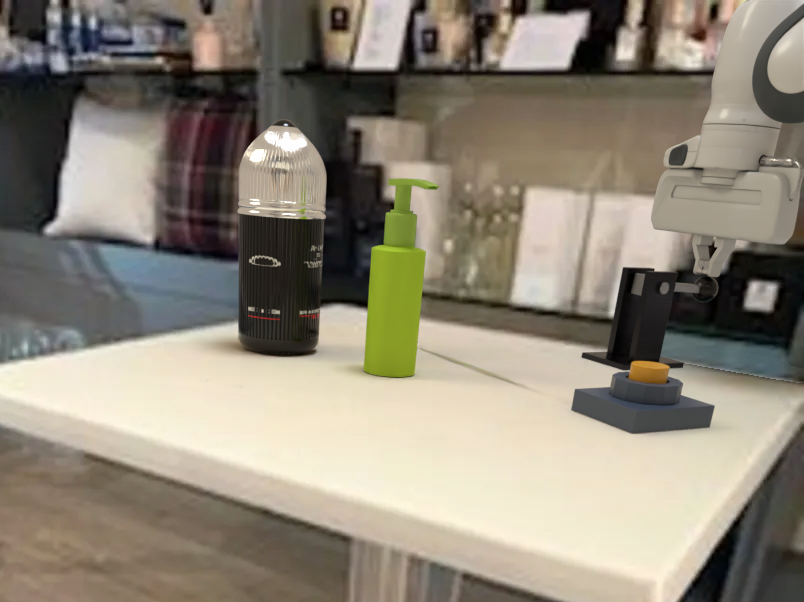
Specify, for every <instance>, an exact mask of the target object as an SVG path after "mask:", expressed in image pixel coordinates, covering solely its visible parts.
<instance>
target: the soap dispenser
mask: <svg viewBox="0 0 804 602" xmlns="http://www.w3.org/2000/svg"><path fill="white" fill-rule="evenodd" d="M387 182H388V184H387V186H395V191H394V204H393V209H390V210H389V211H388V212H387V211H386V212H385V220H384V234H383V244H379V245H375V246H372V247H371V253H370V268H369V282H368V298H367V310H366V312H367V313H366V314H367V315H366V326H365V327H366V329H365V341H364V342H365V343H364V357H363V358H364V360H363V372H365V373H367V374H369V375H374V376H379V377H388V378H407V377H412V376H414V375H415V374H416V364H417V353H418V352H417V351H418V342H419V332H420V320H421V311H422V310H421V309H422V299H423V289H424V288H423V287H424V279H425V278H424V277H425V266H426V256H427V255H426V254H427V251H426V250H424V249H423V248H420V247H416V236H417V224H418V214H416V213H414V210H411V202H412V192H413V191H412V190H413V187H417V188H420V189H423V190H430V191H431V190H432V191H437V190H438V189H439V187H440V185H439V184H437V183H434V182H432V181H430V180H427V179H422V178H407V177H406V178H405V177H404V178H403V177H401V178H400V177H399V178H389V179H388V181H387Z"/></svg>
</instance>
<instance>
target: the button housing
mask: <svg viewBox="0 0 804 602" xmlns="http://www.w3.org/2000/svg"><path fill="white" fill-rule="evenodd" d="M629 372H630V371H617V372H615V373H612V375H611V382H610V386H608V387H607V386H603V387H602V386H601V387H586V388H585V387H583V388H574V392H573V397H572V403H571V409H570V410H571V411H573V412H576V413H578V414H581V415H583V416H585V417H588V418H591V419H593V420H596V421H598V422H601V423H603V424H607V425H608V426H611V427H614V428H616V429H619V430H622V431H623V432H627V433H629V434H633V435H635V434H647V433H658V432H670V431H672V432H673V431H681V430H694V429H695V430H696V429H706V428H711V424H712V419H713V416H714V413H715V412H714V411H715V408H716V405H715V404H711V403H708V402H704V401H701V400H698V399H695V398H692V397H689V396H685V395H683V394H682V391H683V386H684V382H682V381H681V380H680V379H678V378H675V377H672V376H669V375H668V378H667V382H666V383H665V384H655V383H645V382H639V381H635V380H631V379H628V377H629Z"/></svg>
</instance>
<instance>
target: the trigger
mask: <svg viewBox="0 0 804 602" xmlns="http://www.w3.org/2000/svg"><path fill="white" fill-rule="evenodd" d="M644 278H645V274H639V273H635V276H634V280H633V285H632V289H631V294H636V295H640V296H641V293H642V288H643V283H644ZM718 292H719V284H718V281H717V280H716V279H715V277H709V276H704V275H702V276H701V277H699V278H697V279H696V280H695V281H694V282H693V283H687V282H686V283H684V282H676V285H675V290H674V293H687V294H688V293H689V294H691V295H692V298H693V299H694V300H695V301H696V302H699V303H709V302H710V301H712V300H714V298H715V297H716V296H717V295H718Z"/></svg>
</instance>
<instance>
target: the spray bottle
mask: <svg viewBox="0 0 804 602" xmlns="http://www.w3.org/2000/svg"><path fill="white" fill-rule="evenodd" d="M326 196H327V170H326V166H325V163H324V161H323V159H322V156H321V155H320V153H319V151H318V149H317V148H316V147H315V145H314V144H313V143H312V142H311V141H310V140H309V138H308V137H307V136H306V135H305V134H304V133H303V132H302V131H301V130H300V129H299V128H298V127H297V126H296V124H295V123H294V122H292V121H291V120H289V119H285V118H281V119H278V120H275V121H274V122H273V123H272V124H271V125H270V126H269V127H268V128H267V129H266V130H264V131H263V132H261V133H260V134H259V135H258V136H257V137H256V138H255V139H254V140H253V141H252V142H251V143H250V145H249V146H248V147H247V148H246V150H245V151H244V153H243V155H242V158H241V160H240V164H239V167H238V198H237V199H238V200H237V205H238V208H237V210H236V211H237V214H238V287H237V288H238V291H237V293H238V294H237V295H238V297H237V304H238V306H237V307H238V309H237V324H238V325H237V337H238V338H237V339H238V341H239V343H240V344H241V345H242V346H243V347H244V348H245V349H248V350H250V351H252V352H256V353H261V354H267V355H268V354H269V355H284V356H285V355H291V356H292V355H303V354H307V353H310V352H312V351H314V350H315V349H316V348H317V347H318V344H319V341H320V325H321V324H320V322H321V321H320V320H321V300H322V279H323V278H322V277H323V256H324V255H323V254H324V233H325V219H326V218H327V214H326V213H325V212H326V210H327V208H326V204H327V203H326V201H327V200H326V199H327V197H326Z"/></svg>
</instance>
